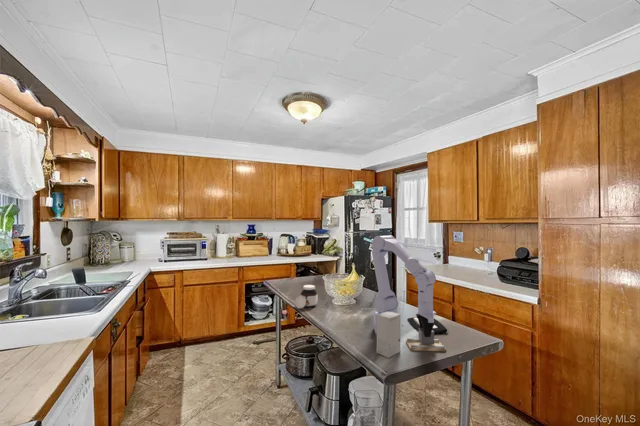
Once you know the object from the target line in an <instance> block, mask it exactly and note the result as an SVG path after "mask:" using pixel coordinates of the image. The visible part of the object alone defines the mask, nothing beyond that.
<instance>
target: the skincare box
mask: <svg viewBox="0 0 640 426" xmlns="http://www.w3.org/2000/svg"><path fill="white" fill-rule="evenodd" d="M400 352H401V313H397V312H395V313H394V312H390V311H388V312H384V313H381V314H378V315H377V334H376V353H377V354H379V355H380V356H383V357H385V358H388V359H389V358H391V357H392V356H395V355H396V354H399V353H400Z"/></svg>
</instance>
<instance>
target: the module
mask: <svg viewBox="0 0 640 426" xmlns="http://www.w3.org/2000/svg"><path fill="white" fill-rule="evenodd" d="M418 339H419V341H420V343H421V344H430V345H434V339H435V334H434V331H433V330H432V332H431V336H430V337H425V336H424V332H423V328H419V332H418Z"/></svg>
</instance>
